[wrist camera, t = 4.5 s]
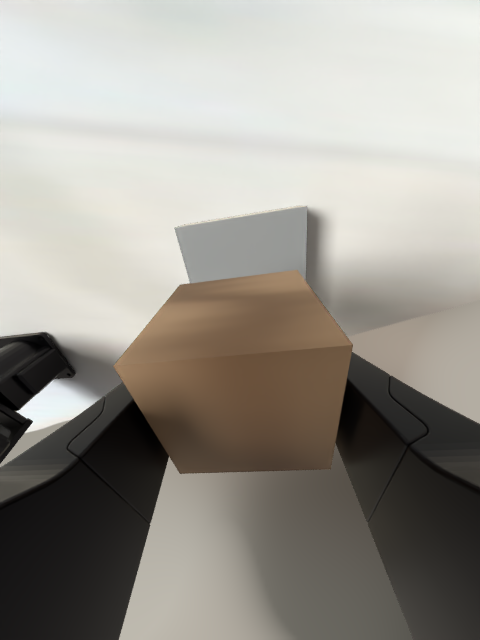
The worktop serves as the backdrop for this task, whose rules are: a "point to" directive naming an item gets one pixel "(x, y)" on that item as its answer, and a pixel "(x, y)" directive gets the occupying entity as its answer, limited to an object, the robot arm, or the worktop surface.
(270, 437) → the walnut cube
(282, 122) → the worktop surface
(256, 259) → the base
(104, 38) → the worktop surface
